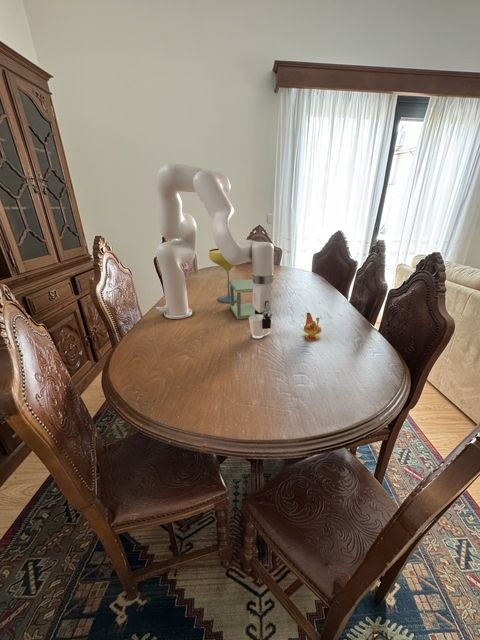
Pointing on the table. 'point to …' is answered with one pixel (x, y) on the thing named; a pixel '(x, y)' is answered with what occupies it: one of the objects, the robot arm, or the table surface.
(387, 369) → the table surface
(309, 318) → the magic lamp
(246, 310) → the shelf
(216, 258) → the cocktail glass
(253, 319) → the cup
